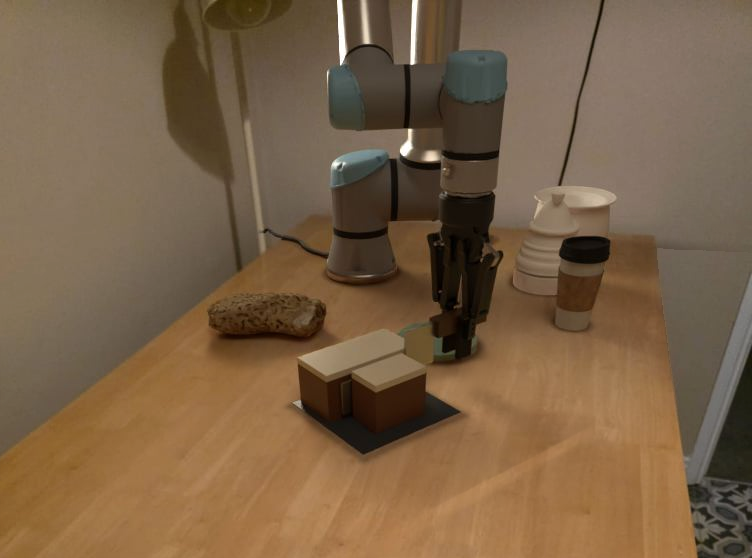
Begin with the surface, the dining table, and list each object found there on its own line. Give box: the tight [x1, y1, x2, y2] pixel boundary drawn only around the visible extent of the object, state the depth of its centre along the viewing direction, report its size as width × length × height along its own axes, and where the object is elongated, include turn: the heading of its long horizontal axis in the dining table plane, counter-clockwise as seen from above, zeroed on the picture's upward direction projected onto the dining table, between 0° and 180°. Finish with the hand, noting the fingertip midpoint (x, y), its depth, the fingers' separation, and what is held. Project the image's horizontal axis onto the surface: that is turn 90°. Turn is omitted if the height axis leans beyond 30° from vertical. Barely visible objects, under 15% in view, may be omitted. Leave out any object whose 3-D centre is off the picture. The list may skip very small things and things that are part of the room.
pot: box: [533, 185, 618, 239], centre depth 150 cm, size 22×17×12 cm
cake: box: [296, 327, 404, 423], centre depth 99 cm, size 16×8×8 cm, turn 127°
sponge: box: [206, 292, 327, 338], centre depth 120 cm, size 13×8×20 cm
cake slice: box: [351, 353, 428, 434], centre depth 95 cm, size 6×9×8 cm, turn 127°
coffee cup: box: [554, 236, 612, 332], centre depth 118 cm, size 8×8×15 cm
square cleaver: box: [340, 306, 488, 415], centre depth 99 cm, size 27×2×10 cm, turn 127°
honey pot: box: [512, 191, 580, 296], centre depth 133 cm, size 13×13×18 cm
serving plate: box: [396, 321, 479, 362], centre depth 116 cm, size 14×14×2 cm
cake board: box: [292, 391, 462, 456], centre depth 99 cm, size 18×18×1 cm
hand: (456, 353), depth 104 cm, fingers closed on square cleaver, 2 cm apart
